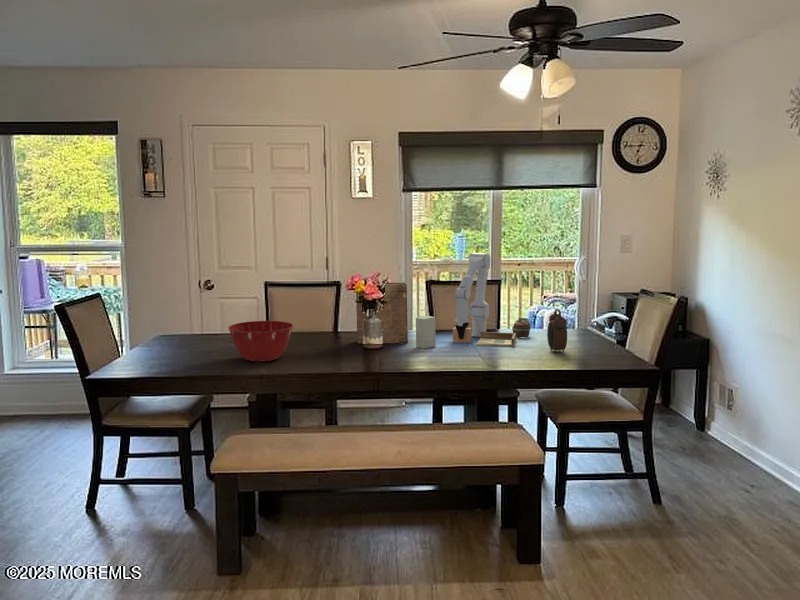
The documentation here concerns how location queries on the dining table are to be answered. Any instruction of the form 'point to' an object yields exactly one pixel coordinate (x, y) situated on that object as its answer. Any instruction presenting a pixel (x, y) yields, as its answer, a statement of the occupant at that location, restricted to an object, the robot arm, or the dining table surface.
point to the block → (466, 335)
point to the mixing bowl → (261, 339)
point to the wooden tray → (496, 339)
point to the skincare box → (425, 332)
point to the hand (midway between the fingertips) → (462, 337)
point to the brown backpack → (557, 332)
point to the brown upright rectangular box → (389, 315)
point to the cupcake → (521, 327)
